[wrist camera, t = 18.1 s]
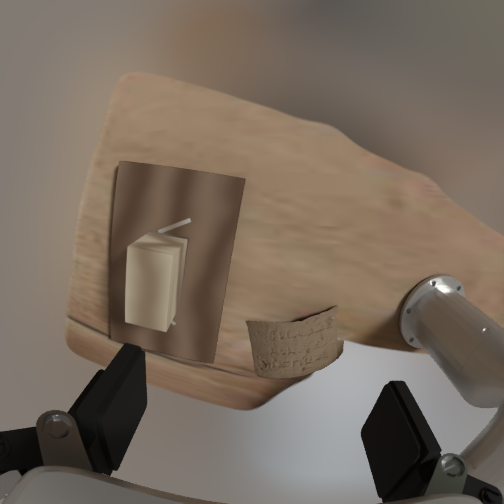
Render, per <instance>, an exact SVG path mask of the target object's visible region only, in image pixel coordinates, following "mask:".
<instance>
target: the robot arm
mask: <svg viewBox="0 0 504 504" xmlns="http://www.w3.org/2000/svg"><path fill="white" fill-rule="evenodd" d="M399 326H400V331H401V334H402V336H403V338H404V339H405V341H406V342H407V343H408V344H409V345H411V346H413V347H415V348H422V349H424V348H425V349H426V351H427V352H428V353H429V354H430V356H431V357H432V358H433V359H434V361H435V362H436V363H437V364H438V366H439V367H440V368H441V369H442V371H443V372H444V373H445V375H446V376H447V377H448V379H449V380H450V381H451V383H452V384H453V385H454V387H455V388H456V389H457V390H458V392H459V393H460V394H461V396H462V397H463V398H464V400H465V401H466V402H468V403H469V404H471V405H473V406H475V407H480V408H495V407H498V411H497V413H496V414H495V415H494V417H493V418H492V419H491V421H490V422H489V424H488V425H487V426H486V427H485V428H484V429H483V430H482V431H481V433H480V434H479V435H478V436H477V437H476V438H475V439H474V440H473V441H472V442H471V443H470V444H469V445H468V446H467V447H466V448H465V449H464V450H463V452H461V454H459V455H457V454H453V453H447V454H444V455H443V456H441V454H440V452H441V448H440V446H439V444H438V442H437V440H436V438H435V436H434V434H433V432H432V430H431V429H430V427H429V425H428V423H427V421H426V419H425V417H424V416H423V414H422V412H421V410H420V408H419V406H418V404H417V403H416V401H415V399H414V397H413V395H412V394H411V392H410V390H409V388H408V386H407V385H406V383H405V382H404V381H390V382H389V383H388V384H386V385H385V386H384V387H383V389H382V392H381V394H380V396H379V397H378V399H377V402H376V403H375V405H374V407H373V409H372V411H371V413H370V415H369V416H368V418H367V420H366V422H365V424H364V425H363V427H362V430H361V438H362V441H363V444H364V448H365V451H366V455H367V458H368V462H369V465H370V469H371V472H372V476H373V479H374V483H375V486H376V490H377V494H378V496H379V498H382V502H383V503H380V504H504V328H503V327H501V326H500V325H499V324H498V323H497V322H495V321H494V320H493V319H492V318H490V317H489V316H488V315H486V314H485V313H484V312H483V311H481V310H480V309H479V308H477V307H476V306H475V305H474V304H472V303H471V302H470V301H468V300H467V299H466V296H465V291H464V288H463V286H462V284H461V283H460V282H459V281H458V280H457V279H455V278H454V277H452V276H450V275H446V274H438V275H434V276H431V277H429V278H427V279H425V280H424V281H422V282H421V283H419V284H418V285H417V286H416V287H415V288H414V289H413V291H412V292H411V293H410V294H409V296H408V297H407V299H406V301H405V303H404V305H403V307H402V310H401V314H400V320H399ZM146 406H147V387H146V363H145V351H142V350H141V347H140V346H137V345H133V344H130V343H125V344H124V345H123V347H122V348H121V349H120V351H119V352H118V353H117V355H116V356H115V357H114V359H113V360H112V361H111V363H110V364H109V365H108V367H107V368H106V370H102V369H101V370H99V371H98V372H97V373H96V374H95V376H94V377H93V378H92V380H91V381H90V382H89V384H88V385H87V386H86V388H85V389H84V390H83V392H82V393H81V394H80V396H79V397H78V399H77V400H76V401H75V403H74V404H73V406H72V407H71V408H70V410H69V411H68V412H67V413H66V412H64V411H60V410H51V411H47V412H45V413H43V414H42V415H41V416H40V417H39V418H38V420H37V422H36V427H30V428H23V429H17V430H10V431H2V432H0V500H1V499H3V498H5V497H6V498H5V499H4V501H3V502H2V504H226V503H218V502H212V501H205V500H200V499H194V498H190V497H185V496H180V495H175V494H171V493H167V492H163V491H159V490H155V489H151V488H148V487H144V486H140V485H137V484H133V483H130V482H127V481H123V480H120V479H117V478H113V477H110V475H111V473H112V471H113V470H115V471H117V470H118V468H119V467H120V464H121V462H122V460H123V457H124V455H125V453H126V451H127V448H128V446H129V444H130V442H131V440H132V438H133V435H134V433H135V431H136V429H137V427H138V424H139V422H140V420H141V418H142V416H143V414H144V411H145V409H146ZM102 473H103V474H102ZM104 474H106V475H104ZM107 475H108V476H107ZM7 493H8V495H7V496H6V495H5V494H7Z"/></svg>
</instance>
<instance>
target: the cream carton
mask: <svg viewBox="0 0 504 504" xmlns="http://www.w3.org/2000/svg"><path fill="white" fill-rule="evenodd" d="M188 242H189V238H186V237H181V236H175V235H170V234H165V233H159V232H154V231H150V232H149V233H147V234H145V235H144V236H142V237H141V238H139V239H138V240H136V241H135V242H133V243H132V244H130V245H129V246H128V248H127V264H126V289H125V322H127V323H131V324H135V325H138V326H142V327H146V328H151V329H155V330H159V331H163V332H167V330H168V328H169V326H170V324H171V322H172V320H173V318H174V316H175V314H176V312H177V310H178V308H179V306H180V305H181V299H182V290H183V281H184V273H185V264H186V257H187V249H188Z"/></svg>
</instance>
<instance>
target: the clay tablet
mask: <svg viewBox="0 0 504 504" xmlns="http://www.w3.org/2000/svg"><path fill="white" fill-rule="evenodd" d="M337 307H338V306H335V307H333V308H332V309H330V310H328V311H325V312H322V313H320V315H315V316H312V317H309V318H307V319H305V320H303V321H296V322H292V323H291V322H285V323H279V322H276V323H273V322H257V321H254V322H253V321H247V322H246V321H245V322H246V324H247V326H248V332H249V336H250V342H251V347H252V355H253V360H254V367H255V373H256V374H257V375H259V376H262V377H267V378H268V377H270V378H293V377H298V376H303V375H306V374H309V373H313V372H315V371H318V370H321V369H323V368H325V367H327V366H328V365H330V364H331V363H333V362H334V361H336V359H338V358H339V357H340V355H341V354H342V353H343V344H344V340H337V318H336V314H337Z"/></svg>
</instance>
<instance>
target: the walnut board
mask: <svg viewBox="0 0 504 504" xmlns="http://www.w3.org/2000/svg"><path fill="white" fill-rule="evenodd" d="M244 184H245V179H244V178H238V177H233V176H227V175H221V174H215V173H209V172H202V171H196V170H189V169H182V168H175V167H168V166H161V165H153V164H145V163H136V162H128V161H119V166H118V174H117V182H116V190H115V200H114V210H113V222H112V237H111V258H110V326H111V340H114V341H118V342H121V343H130V344H133V345H137V346H140V347H141V348H144V349H148V350H152V351H156V352H160V353H164V354H168V355H173V356H177V357H182V358H186V359H191V360H196V361H201V362H206V363H211V364H213V363H214V358H215V351H216V345H217V339H218V333H219V327H220V321H221V315H222V309H223V303H224V297H225V291H226V285H227V279H228V273H229V267H230V262H231V256H232V250H233V245H234V239H235V233H236V228H237V222H238V217H239V211H240V206H241V200H242V195H243V190H244ZM150 231H154V232H159V233H165V234H170V235H175V236H181V237H186V238H189V242H188V249H187V257H186V264H185V273H184V281H183V290H182V299H181V305H180V306H179V308H178V310H177V312H176V314H175V316H174V318H173V320H172V322H171V324H170V326H169V328H168V330H167V332H163V331H159V330H155V329H151V328H146V327H142V326H138V325H135V324H131V323H127V322H125V289H126V264H127V248H128V246H129V245H130V244H132V243H133V242H135V241H136V240H138V239H139V238H141V237H142V236H144V235H145V234H147V233H149V232H150Z"/></svg>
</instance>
